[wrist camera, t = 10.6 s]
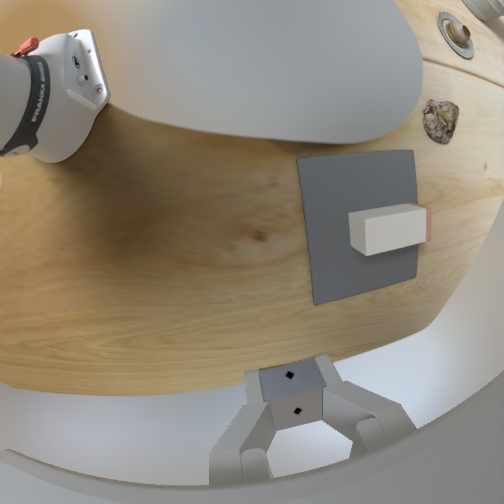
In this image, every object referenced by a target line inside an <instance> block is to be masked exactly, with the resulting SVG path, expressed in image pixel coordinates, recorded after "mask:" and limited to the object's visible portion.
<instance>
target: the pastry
mask: <svg viewBox="0 0 504 504" xmlns="http://www.w3.org/2000/svg"><path fill="white" fill-rule="evenodd" d="M444 20H449V21H451V22H448V23H447V25H446V29H447V32H448V34H449V36H450V38H451V39H452V41H453V42H454V41H455V42H454V43H456V44H457V45H459V46H462V47H463V46H466V44H467V47H466V50H460V49H458V48H457V47H456V46H454V45H453V43H452V42H451V41H450V40H449V38H448V37H447V35H446V33H445V31H444V29H443V21H444ZM437 21H438V25H439V27H440V29H441V32H442V33H443V35H444V37H445V39H446V41H447V42H448V43H449V44H450V45H451V47H452V48H453V49H454V50H455V51H456V52H457V53H459V54H460V55H461V56H463V57H465V58H471V57H472V56H473V53H474V49H473V43H472V40H471V38H470V32H469V30H468V28H467V27H466V26H464V25H462V24H461V23H460V22H459V21H458V20H457V19H456V18H455V17H454V16H453V15H451V14H449V13H448V12H444V11H440V12H439V13H438V15H437Z"/></svg>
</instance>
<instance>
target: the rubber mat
mask: <svg viewBox="0 0 504 504" xmlns="http://www.w3.org/2000/svg"><path fill="white" fill-rule="evenodd" d="M296 162H297V169H298V175H299V182H300V188H301V195H302V203H303V210H304V218H305V226H306V234H307V242H308V251H309V261H310V271H311V281H312V292H313V304H314V305H318V304H322V303H326V302H330V301H334V300H338V299H342V298H345V297H349V296H353V295H357V294H360V293H364V292H367V291H371V290H374V289H378V288H381V287H385V286H388V285H391V284H395V283H398V282H401V281H404V280H408V279H411V278H414V277H416V271H417V253H418V244H414V245H410V246H406V247H402V248H398V249H394V250H390V251H386V252H381V253H377V254H373V255H369V256H365V255H364V254H362V253H361V252H359V251H358V250H356V249H355V248H353V247H352V246H351V243H350V227H349V215H348V213H351V212H357V211H363V210H369V209H375V208H381V207H388V206H394V205H400V204H407V203H414V204H417V205H418V202H417V184H416V171H415V161H414V152H413V150H398V151H376V152H361V153H348V154H337V155H326V156H317V157H308V158H300V159H296Z"/></svg>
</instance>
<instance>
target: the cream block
mask: <svg viewBox="0 0 504 504" xmlns="http://www.w3.org/2000/svg"><path fill="white" fill-rule="evenodd" d="M348 215H349V227H350V243H351V246H352V247H353V248H355V249H356V250H358V251H359V252H361V253H362V254H364V255H365V256H369V255H373V254H377V253H381V252H386V251H390V250H394V249H398V248H402V247H406V246H410V245H414V244H418V243H422V242H426V241H430V231H431V208H428V207H425V206H421V205H417V204H414V203H407V204H400V205H394V206H388V207H381V208H375V209H369V210H363V211H357V212H351V213H348Z"/></svg>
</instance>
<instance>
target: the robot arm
mask: <svg viewBox="0 0 504 504" xmlns="http://www.w3.org/2000/svg"><path fill="white" fill-rule="evenodd" d="M77 35H78V36H77ZM76 36H77V37H76ZM22 55H23V56H22ZM21 56H22V57H21ZM99 89H101V92H99V93H98V91H99ZM109 99H110V91H109V88H108V84H107V81H106V78H105V75H104V71H103V68H102V65H101V61H100V57H99V54H98V50H97V46H96V42H95V38H94V34H93V32H92V31H90V30H77V31H74V32H71V33H68V34H57V35H54V36H51V37H49V38H47V39H45V40H43V41H41V42H40V43H39V41H38V39H37V38H36V37H34V36H33V37H31V38H30V39H29V40H28V41H26V42H25V43H23V44H22V45H21V46H20V50H19V51H18V52H17V53H15V54H14V53H12V54H11V55H7V54H4V53H2V52H0V157H16V156H20V155H28V156H31V157H34V158H37V159H39V160H40V161H42V162H45V163H57V162H60V161H63V160H65V159H66V158H68V157H70V156H71V155H72V154H73V153H74V152H76V151H77V150H78V148H79V147H80V146H81V145H82V144H83V142H84V141H85V139H86V138H87V136H88V134H89V132H90V130H91V128H92V125H93V123H94V120H95V118H96V116H97V114H98V113H99V112H100V111H101V110H102V109H103V107H104V106H105V105H106V104H107V102H108V101H109ZM258 370H259V371H258ZM244 382H245V390H246V398H247V405H244V406H243V407H242V408H241V409H240V411H239V412H238V414H237V415H236V416H235V418H234V419H233V421H232V422H231V424H230V425H229V426H228V428H227V429H226V431H225V432H224V433H223V435H222V436H221V437H220V439H219V440H218V442H217V443H216V444H215V446H214V447H213V448H212V450H211V451H210V452H209V485H200V486H177V485H175V486H174V485H154V484H143V483H134V482H126V481H118V480H113V479H107V478H101V477H96V476H92V475H87V474H83V473H78V472H74V471H71V470H67V469H64V468H60V467H57V466H53V465H51V464H47V463H44V462H41V461H39V460H36V459H33V458H30V457H28V456H26V455H23V454H21V453H18V452H16V451H13V450H10V449H6V450H4V451H1V452H0V504H504V371H503V372H501V373H500V374H499V375H498V376H497V377H495V378H494V379H493V380H492V381H491V382H489V383H488V384H487V385H485V386H484V387H483V388H482V389H480V390H479V391H477V392H476V393H475V394H473V395H472V396H471V397H469V398H468V399H466V400H465V401H463V402H462V403H461V404H459V405H457V406H456V407H454V408H453V409H451V410H450V411H448V412H446V413H445V414H443V415H442V416H440V417H438V418H436V419H435V420H433V421H431V422H430V423H428V424H426V425H424V426H423V427H420V428H418V429H417V428H416V427H415V426H414V424H413V422H412V421H411V419H410V418H409V416H408V415H407V413H406V412H405V410H404V409H403V407H402V406H401V404H399V403H396V402H394V401H391V400H389V399H386V398H384V397H382V396H380V395H377V394H375V393H373V392H370V391H368V390H366V389H364V388H361V387H359V386H357V385H355V384H353V383H350V382H348V381H344V382H342V380H341V378H340V376H339V374H338V372H337V370H336V369H335V367H334V365H333V363H332V361H331V359H330V357H329V356H328V354H326V353H324V354H321V355H317V356H314V357H310V358H307V359H303V360H299V361H295V362H291V363H286V364H282V365H277V366H272V367H266V368H260V369H256V370H250V371H244ZM319 420H323V421H324V422H326V423H327V424H328V425H330V426H331V427H333V428H334V429H335V430H337V431H338V432H340V433H341V434H343V435H344V436H345V437H347V438H349V439H350V440H352V441H353V444H352V448H351V453H350V457H349V459H346V460H343V461H340V462H337V463H334V464H330V465H327V466H324V467H320V468H317V469H313V470H309V471H305V472H300V473H296V474H292V475H287V476H282V477H277V478H273V475H272V472H271V469H270V466H269V463H268V460H267V457H266V453H267V451H268V448H269V446H270V444H271V442H272V440H273V438H274V436H275V433H276V431H278V430H282V429H286V428H291V427H294V426H298V425H303V424H307V423H311V422H315V421H319Z"/></svg>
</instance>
